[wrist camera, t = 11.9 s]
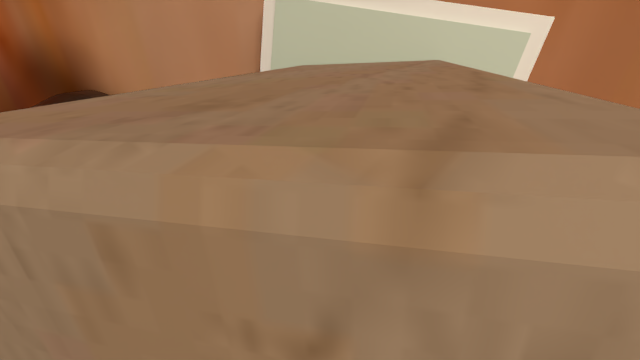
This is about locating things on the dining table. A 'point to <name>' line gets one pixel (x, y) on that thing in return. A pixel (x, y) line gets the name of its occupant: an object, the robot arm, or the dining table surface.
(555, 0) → the dining table surface
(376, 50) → the picture frame
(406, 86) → the wooden block
